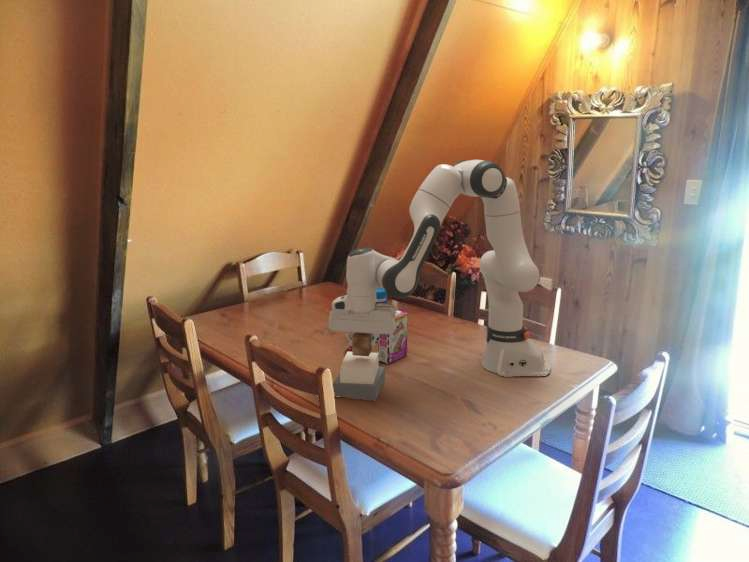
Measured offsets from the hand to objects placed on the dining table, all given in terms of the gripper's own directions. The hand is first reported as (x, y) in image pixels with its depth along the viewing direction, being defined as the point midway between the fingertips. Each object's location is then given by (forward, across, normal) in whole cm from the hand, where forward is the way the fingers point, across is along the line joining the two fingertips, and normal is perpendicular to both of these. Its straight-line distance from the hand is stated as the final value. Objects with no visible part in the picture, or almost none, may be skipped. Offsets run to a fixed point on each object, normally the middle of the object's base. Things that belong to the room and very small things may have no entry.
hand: (362, 345), depth 170 cm
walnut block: (+2, 0, 0) cm, 2 cm away
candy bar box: (+14, -5, -26) cm, 30 cm away
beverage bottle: (+14, +4, -45) cm, 47 cm away
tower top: (+10, +1, 0) cm, 10 cm away
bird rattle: (+14, +7, -16) cm, 23 cm away
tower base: (+15, +1, 0) cm, 15 cm away
